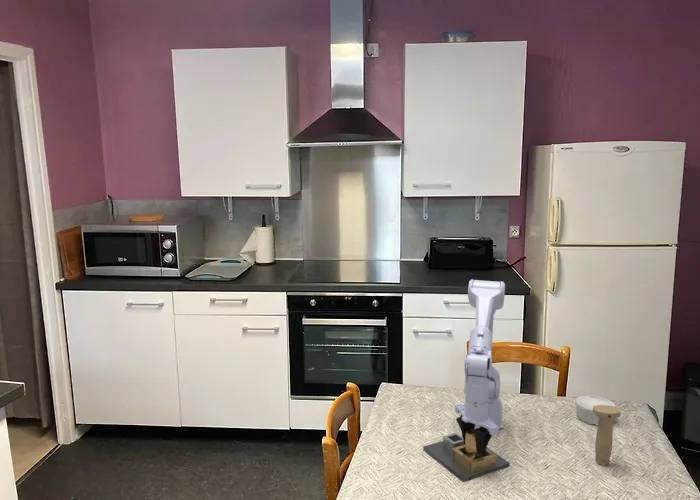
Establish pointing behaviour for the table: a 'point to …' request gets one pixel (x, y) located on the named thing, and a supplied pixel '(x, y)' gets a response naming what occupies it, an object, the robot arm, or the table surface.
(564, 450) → the table surface
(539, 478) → the table surface
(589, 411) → the ramekin
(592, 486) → the table surface
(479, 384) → the robot arm
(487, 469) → the fitting plate
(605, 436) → the handle
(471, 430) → the cylindrical peg
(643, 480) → the table surface
